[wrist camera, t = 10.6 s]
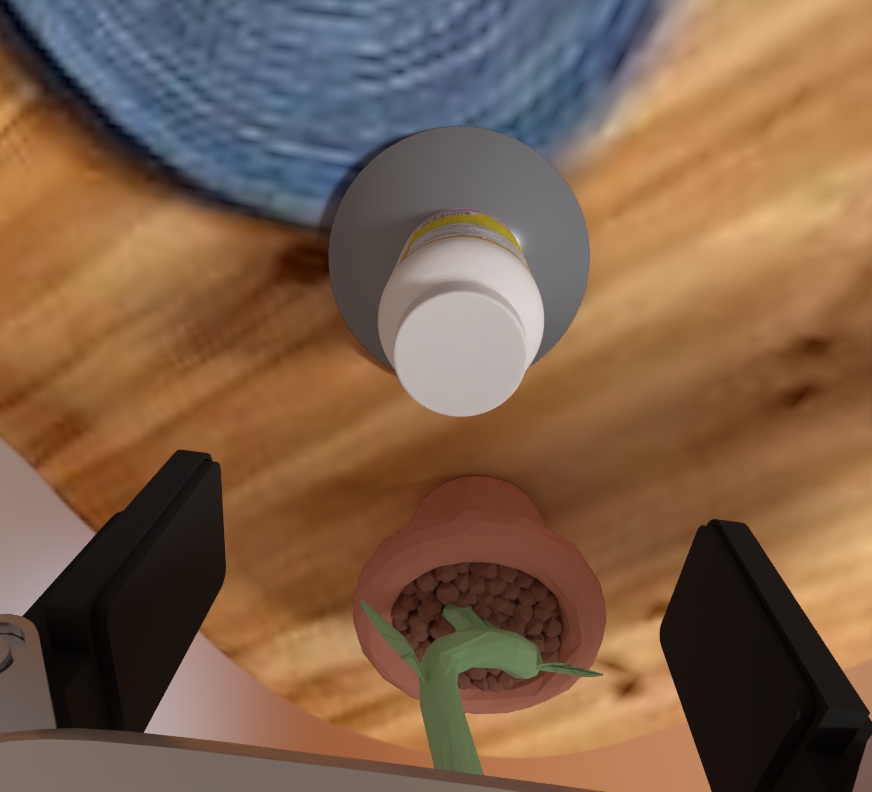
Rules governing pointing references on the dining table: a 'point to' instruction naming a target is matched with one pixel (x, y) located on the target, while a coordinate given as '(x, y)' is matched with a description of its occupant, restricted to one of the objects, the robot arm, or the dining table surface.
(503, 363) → the supplement bottle
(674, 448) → the dining table surface
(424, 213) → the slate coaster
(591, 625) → the decorative flower
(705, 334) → the dining table surface
